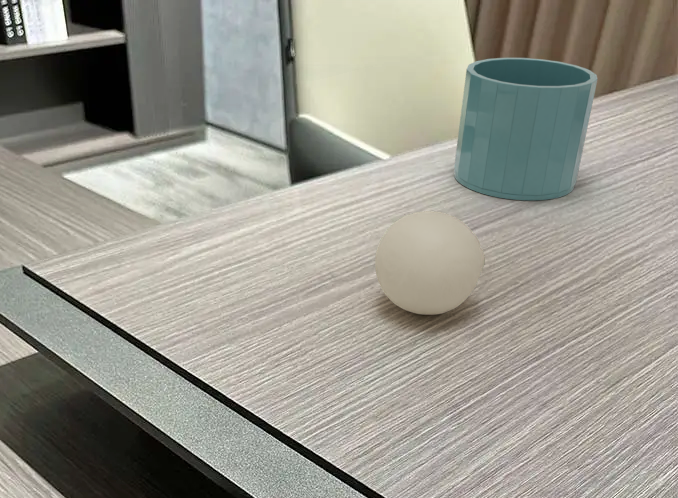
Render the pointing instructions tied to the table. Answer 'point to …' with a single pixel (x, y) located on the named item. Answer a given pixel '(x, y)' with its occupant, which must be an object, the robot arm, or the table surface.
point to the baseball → (428, 262)
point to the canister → (523, 127)
